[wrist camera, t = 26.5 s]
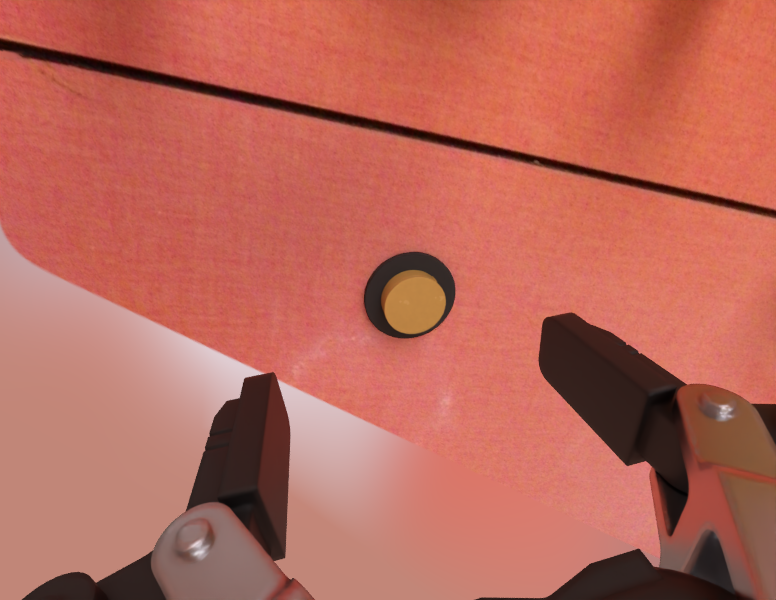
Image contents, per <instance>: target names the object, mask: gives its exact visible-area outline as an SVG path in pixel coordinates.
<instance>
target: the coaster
mask: <svg viewBox="0 0 776 600" xmlns="http://www.w3.org/2000/svg"><path fill="white" fill-rule="evenodd" d="M408 270H419V271H423V272H426V273H428V274H429V275H431V276H433V277H434V278H435V279H436V281H437V283H438V284H439V285H440V287H441V288H442V289H443V292H444V294H445V299H446V305H445V310H444V313H443V315H442V317H441V318H440V320H439V321H438V322H437V323H436V324H435V325H434V326H433V327H431V328H430V329H428V330H426V331H424V332H421V333H416V334H406V333H402V332H399V331H397V330H396V329H394V328H393V327H392V326H391V325H390V324H389V323H388V321H387V319H386V317H385V314H384V312H383V309H382V306H381V296H382V292H383V289H384V287H385V286H386V284H387V283H388V282H389V280H391V279H392V278H393V277H394V276H395V275H397V274H399V273H401V272H404V271H408ZM454 299H455V283H454V280H453V277H452V275H451V273H450V271H449V270H448V268H447V267H446V266H445V265H444V264H443V263H442V262H441V261H440V260H438V259H437V258H435V257H433V256H431V255H428V254H425V253H419V252H409V253H403V254H399V255H396V256H394V257H392V258H390V259H388V260H386V261H385V262H384V263H382V264H381V265H380V266H379V267H378V268H377V269H376V270H375V271H374V273H373V274H372V276H371V277H370V279H369V281H368V283H367V286H366V289H365V295H364V302H365V308H366V312H367V314H368V317H369V319H370V320H371V322H372V323H373V324H374V326H375V327H376V328H378V329H379V330H380V331H382V332H383V333H385V334H387V335H389V336H392V337H397V338H414V337H418V336H421V335H424V334H426V333H428V332H430V331H432V330H433V329H435V328H436V327H437V326H439V325H440V324H441V323H442V322H443V321H444V320H445V318H446V317H447V316H448V314H449V312H450V310H451V308H452V306H453V303H454Z"/></svg>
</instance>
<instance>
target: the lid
mask: <svg viewBox="0 0 776 600" xmlns="http://www.w3.org/2000/svg"><path fill="white" fill-rule="evenodd" d="M445 305H446V299H445V294H444V292H443V289H442V288H441V287H440V285H439V284H438V283H437V281H436V279H435V278H434V277H433V276H431V275H429V274H428V273H426V272H423V271H419V270H408V271H404V272H401V273H399V274H397V275H395V276H394V277H393V278H392V279H391V280H389V282H388V283H387V284H386V286H385V287H384V289H383V292H382V296H381V306H382V309H383V312H384V314H385V317H386V319H387V321H388V323H389V324H390V325H391V326H392V327H393V328H394V329H396V330H397V331H399V332H402V333H406V334H416V333H421V332H424V331H426V330H428V329H430V328H431V327H433V326H434V325H435V324H436V323H437V322H438V321H439V320H440V318H441V317H442V315H443V313H444V310H445Z"/></svg>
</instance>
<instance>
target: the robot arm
mask: <svg viewBox="0 0 776 600" xmlns="http://www.w3.org/2000/svg"><path fill="white" fill-rule="evenodd" d="M539 367H540V370H541V372H542V374H543V376H544V378H545V379H546V380H547V381H548V382H549V383H550V384H551V386H552V387H553V388H554V389H555V390H556V391H557V392H558V393H559V394H560V395H561V396H562V397H563V398H564V399H565V400H566V402H567V403H568V404H569V405H570V406H571V407H572V408H573V409H574V410H575V411H576V412H577V413H578V414H579V415H580V416H581V418H582V419H583V420H584V421H585V422H586V423H587V424H588V425H589V426H590V427H591V428H592V429H593V430H594V431H595V432H596V434H597V435H598V436H599V437H600V438H601V439H602V440H603V441H604V442H605V443H606V444H607V445H608V446H609V447H610V448H611V450H612V451H613V452H614V453H615V454H616V455H617V456H618V457H619V458H620V459H621V460H622V461H623V462H624V463H625V464H626V465H627V466H629V465H633V464H637V463H640V462H644V461H647V462H648V463H649V464H650V465H651V466H652V468H651V471H650V474H649V477H650V484H651V490H652V496H653V503H654V509H655V515H656V521H657V527H658V534H659V540H660V549H661V554H660V565H659V567H653V566H652V564H651V563H650V562H649V560H648V559H647V558H646V557H645V555H644V554H643V553H642V552H641V550H640V549H636V550H633V551H630V552H627V553H624V554H620V555H617V556H614V557H611V558H607V559H604V560H601V561H598V562H594V563H591V564H589V565H588V566H587V567H586V568H584V569H583V570H582V571H581V572H579V573H578V574H577V575H576V576H574V577H573V578H572V579H570V580H569V581H568V582H567V583H565V584H564V585H563V586H562V587H560V588H559V589H558V590H557V591H555V592H554V593H553V594H552V595H550V596H548V597H546V598H479V599H476V600H776V404H751V403H749V402H748V401H747V400H745V399H744V398H742V397H740V396H739V395H737V394H735V393H733V392H730V391H728V390H725V389H723V388H719V387H716V386H712V385H706V384H689V385H687V384H685V383H684V382H682V381H681V380H679V379H678V378H677V377H675V376H674V375H672V374H671V373H669V372H668V371H666V370H665V369H663V368H662V367H661V366H659V365H658V364H656V363H655V362H653V361H652V360H650V359H649V358H647V357H646V356H644V355H643V354H642V353H641V354H639V353H638V351H637V350H636V349H634V348H633V347H631V346H630V345H626V342H624V341H623V340H621V339H620V338H618V337H617V336H615V335H614V334H612V333H611V332H609V331H606V330H603V329H601V328H598V327H596V326H593V325H590V324H589V323H587V322H586V321H584V320H583V319H582V318H580V317H579V316H577V315H576V314H574V313H566V314H561V315H556V316H551V317H547V318H545V319H544V321H543V325H542V333H541V342H540V351H539ZM289 454H290V425H289V419H288V414H287V411H286V407H285V404H284V401H283V397H282V394H281V391H280V388H279V384H278V381H277V378H276V375H275V373H274V372H272V373H267V374H262V375H257V376H252V377H247V378H245V379H244V382H243V387H242V391H241V395H240V398H239V399H234V400H229V401H226V403H225V404H224V405H223V407H222V408H221V409H220V410H219V412H218V413H217V414H216V415H215V417H214V420H213V423H212V426H211V430H210V437H208V440H207V443H206V446H205V452H204V453H203V457H202V460H201V463H200V466H199V470H198V473H197V476H196V479H195V483H194V486H193V489H192V493H191V496H190V499H189V503H188V506H187V509H186V512H184V513H183V514H181V515H180V516H179V517H178V518H176V519H175V520H174V521H173V522H172V523H171V524H170V525H169V526H168V527H167V528H166V529H165V531H164V532H163V534H162V535H161V536H160V538H159V539H158V541H157V543H156V545H155V547H154V550H153V551H152V552H150V553H149V554H147V555H146V556H144V557H142V558H141V559H139V560H137V561H135V562H133V563H132V564H130V565H128V566H126V567H125V568H122V569H121V570H119V571H117V572H115V573H113V574H112V575H110V576H108V577H106V578H104V579H102V580H100V581H99V582H97V583H95V582H94V580H93V579H92V578H91V577H90V576H89V575H87V574H85V573H80V572H73V573H68V574H64V575H61V576H58V577H56V578H54V579H52V580H50V581H48V582H46V583H44V584H43V585H41V586H39V587H38V588H36V589H35V590H34V591H32V592H31V593H29V594H28V595H27V596H26V597H25V598H23V599H22V600H315V599H314V598H313V597H312V596H311V595H310V594H309V592H308V591H307V590H306V589H305V588H304V587H303V586H302V585H301V584H300V583H299V582H298V581H297V580H296V579H294V578H292V579H291V580H290V579H289V578H288V577H287V576H286V575H285V574H284V573H283V572H282V571H281V569H280V568H279V567H278V566H277V564H276V563H275V562H274V561H276V560H279V559H283V558H285V552H286V528H287V527H286V526H287V503H288V478H289V456H290V455H289Z"/></svg>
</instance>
